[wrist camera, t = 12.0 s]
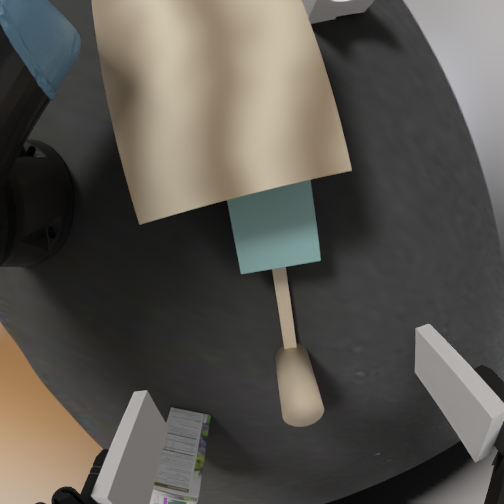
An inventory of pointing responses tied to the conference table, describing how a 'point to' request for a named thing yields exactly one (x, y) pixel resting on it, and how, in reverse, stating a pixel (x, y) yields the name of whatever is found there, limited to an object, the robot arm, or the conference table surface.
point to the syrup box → (182, 458)
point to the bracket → (333, 8)
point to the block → (282, 280)
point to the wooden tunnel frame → (215, 99)
